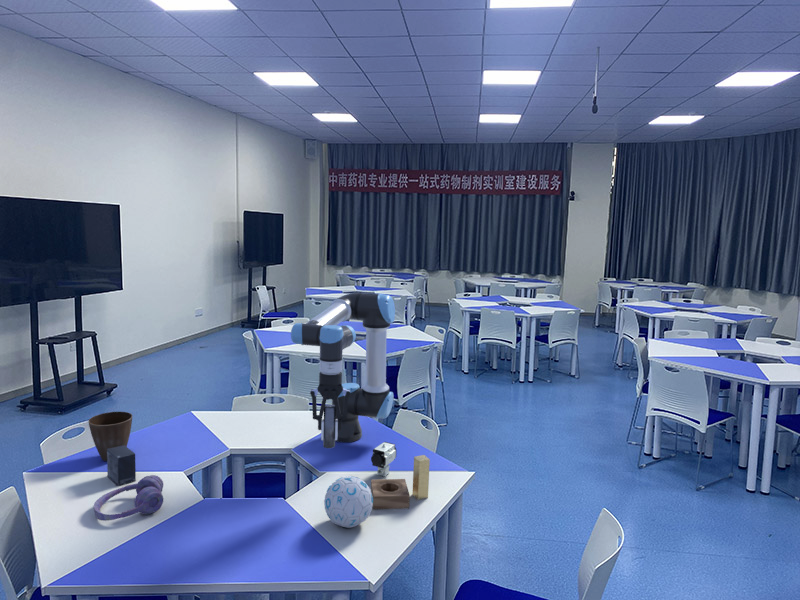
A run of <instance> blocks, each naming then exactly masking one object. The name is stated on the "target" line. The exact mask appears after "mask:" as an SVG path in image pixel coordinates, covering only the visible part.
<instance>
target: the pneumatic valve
mask: <svg viewBox="0 0 800 600" xmlns="http://www.w3.org/2000/svg"><path fill="white" fill-rule="evenodd" d="M371 455H372V456H371V459H370V461H371V465H372V466H374V467H377V474H378V475H377V476H381V477H382V476H383V477H384V476H385V477H386V476H387V474H388V475H389V474H390V466H391V465H390V464H391V463H392V462H393V461H395V459H396V458H397V448H396V443H391V442H387V441H384V442H382V443H381V444H379V445H377V446H376V447H375V448H373V449H372V454H371Z"/></svg>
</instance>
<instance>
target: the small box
mask: <svg viewBox="0 0 800 600" xmlns="http://www.w3.org/2000/svg"><path fill="white" fill-rule="evenodd" d="M106 462H107V465H106V466H107V467H106V469H107V470H106V471H107V478H108V479H109V480H110V481H112V483H114V484H115V485H116V486H117V487H120V486H123V485H127V484H130V483H134V482H136V481H137V479H136V478H137V477H136V476H137V475H136V472H137V471H136V452H134V451H133V450H132V449H130V448H128V446H127V447H126V446H125V445H122V446H118V447H114V448H109V449H107V461H106Z"/></svg>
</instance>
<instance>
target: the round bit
mask: <svg viewBox="0 0 800 600" xmlns="http://www.w3.org/2000/svg"><path fill="white" fill-rule="evenodd" d="M323 419H324V440H322V444H323V445H322V446H323V448H325V449H333V448H335V447H336V441H335V422H336V409H335V405H332V404H325V408H324V412H323Z"/></svg>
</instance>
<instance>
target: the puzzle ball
mask: <svg viewBox="0 0 800 600" xmlns="http://www.w3.org/2000/svg"><path fill="white" fill-rule="evenodd" d="M324 509H325V513H326V515H327V517H328V518H329V521H331V523H333V524H334V525H337V526H340V527H342V528H346V529H350V528H354V527H356V526H359V525H360V524H362V523H364V522H365V521H367V520H366V519H368V518H369V516H370V514H371V511H372V510H373V497H372V493H371V487H370V486H369V485H368V484H367V483H366V482H365V481H364V480H363V479H360V478H359V477H357V476H352V475H348V476H346V475H345V476H343V477H340V478H338V479H336V480H335V481H334V482H332V483H331V485H329V487H328V488H327V489H326V492H325V495H324Z"/></svg>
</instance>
